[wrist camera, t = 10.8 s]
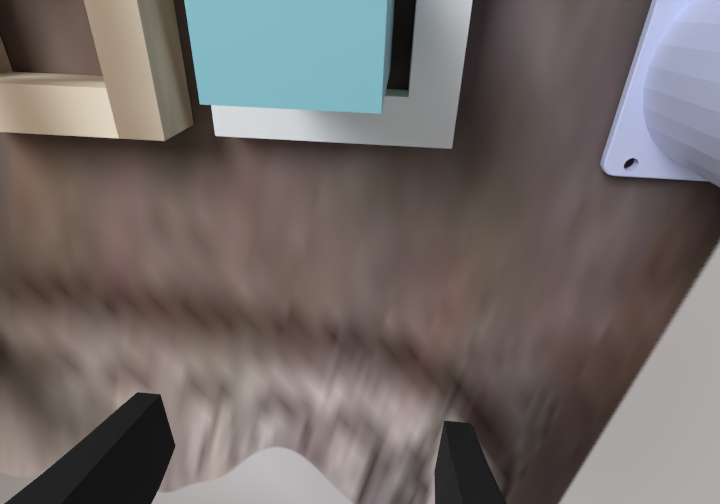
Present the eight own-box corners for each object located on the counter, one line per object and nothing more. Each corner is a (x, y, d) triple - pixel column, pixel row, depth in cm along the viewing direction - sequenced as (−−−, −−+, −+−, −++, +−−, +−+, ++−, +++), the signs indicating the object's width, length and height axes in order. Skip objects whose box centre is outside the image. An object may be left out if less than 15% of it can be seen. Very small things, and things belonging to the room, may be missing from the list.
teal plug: (398, -64, 14) (394, -131, 7) (390, 67, 16) (380, 113, 9) (279, -67, 14) (163, -135, 7) (285, 62, 16) (199, 104, 9)
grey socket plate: (488, -166, 13) (498, -185, 11) (448, 137, 17) (451, 148, 16) (193, -169, 13) (169, -188, 12) (229, 126, 18) (215, 135, 16)
